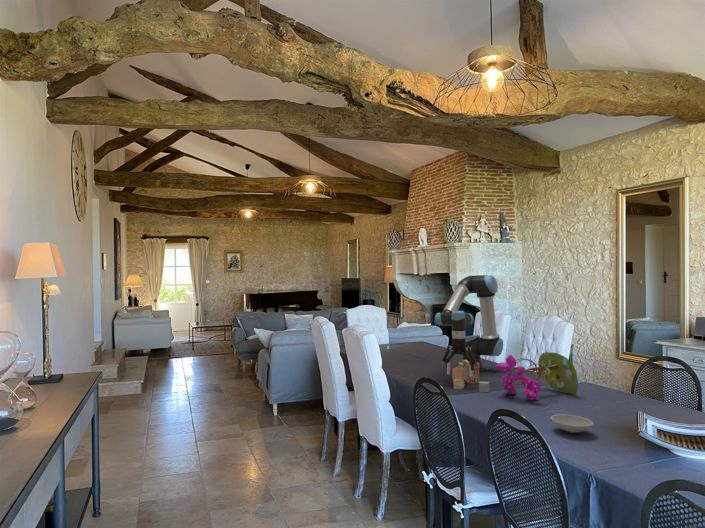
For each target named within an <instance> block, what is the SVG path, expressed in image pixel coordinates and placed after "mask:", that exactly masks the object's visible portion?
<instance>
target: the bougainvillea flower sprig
mask: <svg viewBox="0 0 705 528" xmlns="http://www.w3.org/2000/svg"><path fill="white" fill-rule="evenodd" d="M521 361H528V362H530V363H532V364H531V365H529V366H527V367H524V366H523V365H519V366H517V364H518V363H519V362H521ZM532 366H534V367H532ZM514 367H516V368H515V372H516V373H515V374H514V373H513V374H511V372H513V369H514ZM529 367H530V368H529ZM497 369H498V370H500V371H502V372H506V373H507V372H508V373H507V374H506V375H504V376H501V383H502V387H503V391H504V392H505V393H507V394H509V395H510V394H512V395H513V394H514V395H516V394H517V388H515V385H516V386H517V385H518V386H519V385H523V386H524V387H525V389H524V391H523V396H524V397H525V398H526V399H527V400H529V401H535V400H537V399H538V394H539V393H541V391H542V387H541V386H542V385H541V384H540V380H541V378H543V380H544V381H545V382H546V383H547V384H544V386H545V387H546V386H549V387H550V388H551V389H553V390H554V391H556V390H557V392H559V391H560V392H561V393H563V392H564V394H567V393H568V395H571V394H572V396H576V395H577V393H578V388H579V380H578V375H577V371H576V367H575V366H574V364H573V363H572V362H571V360H570V359H568V357H566V356H564V355H562V354H560V353H557V352H551V351H550V352H548V351H547V352H542V353H541V354H540V355H539V358H538V362H537V363H535V362H534V361H533V360H531V359H528V358H523V357H522V358H518V359H516V357H514V356H513V355H512V354H509V355H507V357H506V358H505V362H499V363H497ZM525 372H526V373H525ZM534 372H535V373H536V377H534V378H530V377H527V376H528V375H531V374H533V373H534ZM522 374H523V375H522ZM519 381H520V382H519ZM521 381H522V382H521ZM512 395H511V396H512Z"/></svg>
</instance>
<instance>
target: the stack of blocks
mask: <svg viewBox="0 0 705 528" xmlns="http://www.w3.org/2000/svg"><path fill="white" fill-rule="evenodd" d="M469 365H470V363H469V362H468V360H463V359H462V360H461V362H457V367H464V368H466V375H467V378H466V379H464V380H465V381H464V382H465V383H467V384H469V385H471V384H473V385H474V384H475V383H477V384H479V382H480V381H481V380H480V372H481V371H480V372H479V363H478V362H477V363H476V364H474V370H473V371H472V373H473V376H471V377H469Z"/></svg>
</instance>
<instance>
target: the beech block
mask: <svg viewBox="0 0 705 528" xmlns="http://www.w3.org/2000/svg"><path fill="white" fill-rule="evenodd" d="M452 382H453V383H452V384H453V389H454V390H464V388H465V385H466V384H465V383H466V381H464V380H457V379H452Z"/></svg>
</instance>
